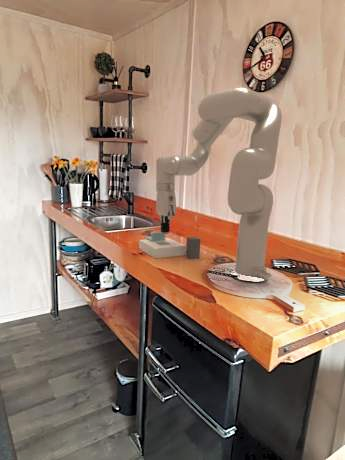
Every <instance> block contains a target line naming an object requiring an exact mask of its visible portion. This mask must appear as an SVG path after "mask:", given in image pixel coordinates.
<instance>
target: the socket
mask: <svg viewBox="0 0 345 460" xmlns="http://www.w3.org/2000/svg"><path fill="white" fill-rule="evenodd" d="M165 239H166V240H160V241H150V240H148V239H146V238H145V239H139V241H138V243H139V248H138V249H139V250H140V251H142V252H143V253H146V254H147V255H149V257H150V256H151V257H152V258H153V259H163V258H171V257H181V256H186V245H185V244H183V243H180V242H178V241H176V240H173V239H171V238H169V237H165Z"/></svg>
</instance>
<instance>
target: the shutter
mask: <svg viewBox="0 0 345 460" xmlns="http://www.w3.org/2000/svg"><path fill="white" fill-rule="evenodd" d="M150 235H151V236H149V235H148V236H144V239H145V240H146V239H148V240H150V241H160V240H166V239H165V238H166V237H165V235H166V233H163V232H161V231H156V232H151V234H150Z"/></svg>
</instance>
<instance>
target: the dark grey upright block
mask: <svg viewBox="0 0 345 460" xmlns="http://www.w3.org/2000/svg"><path fill="white" fill-rule="evenodd" d="M185 246H186V253H185V258H188V259H189V260H196V259H200V257H201V256H200V253H201V238H199V237H196V236H193V237H191V236H190V237H186V245H185Z"/></svg>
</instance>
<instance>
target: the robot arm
mask: <svg viewBox="0 0 345 460" xmlns="http://www.w3.org/2000/svg"><path fill="white" fill-rule="evenodd" d="M197 114H198V116H199V118H200V121H199V122H198V123H197V125H196V126H195V127H194V128H193V130H192V136H193V139H195V141H196V142H197V144H196V147H195V148H194V149H193V150H192V152H191V153H190V155H189V156H187V155H170V156H159V157H157V158H156V168H155V169H156V172H155V173H156V174H155V176H156V178H155V179H156V183H155V185H156V186H155V189H156V190H155V191H156V200H155V212H156V214H157V216H158V217H159V218H160V219H159V222H160V232H163V233H165V234H167V233H170V223H171V220H173V217H175V216H176V215H177V198H176V192H175V189H176V187H175V186H176V182H175V181H176V176H187V177H188V176H193V175H195V174H197V173H198V171H200V170H201V168H202V167H203V166H204V165H205V164H206V162H207V161H208V159H209V158H210V157H209V156H210V154H211V151H212V146H213V144H214V143H215V142H216V140H217V139H218V138H219V137H220V135H221V134H223V132H224V131H225V129H226V128H227V127H228V126H229V125H230V124H231V123H232V121H233V120H234V118H235V119H236V118H237V119H242V120H246V121H250V122H253V123H254V124H255V125H254V127H253V129H252V132H251V135H250V142H249V147H245V148H242V149H241V150H239V151H238V152H237V153H236V154H235V156H234V157H233V160H232V163H231V167H230V175H229V184H228V190H227V203H228V207H229V209H230V210H231V211H232V213H234V214H236V215H239V216H240V219H239V224H238V233H237V245H236V258H235V268H234V269H235V271H236V272H237V273H239V274H241V275H245V276H251V277H257V278H262V279H264V280H266V281H268V280H269V278H271V277H272V273H271V272H268V271H267V268H268V267H267V266H265V263H266V262H265V261H266V253H267V252H266V251H267V243H268V232H269V224H270V220H271V219H270V217H271V213H272V210H273V206H274V194H273V191H272V190H271V189H270V188H269V187H268V186H267V185H265V184H261V183H260V180H261V181H262V180H266V179H268V178H270V177H271V176H272V175H273V173H274V172H275V166H276V160H277V154H278V153H277V152H278V146H279V140H280V139H279V138H280V134H281V133H280V132H281V127H282V119H283V118H282V110H281V108H280V106H279V105H278V103H277V102H276V101H274V100H273V99H272V98H270V97H269V96H266V95H265V94H262V93H261V92H258V91H254V90H252V89H250V88H247V87H236V88H235V87H234V88H231V89H227V90H221V91H218V92H213V93H209V94H207V95H206V96H204V97H203V98H202V100H200V103H199V104H198V109H197Z"/></svg>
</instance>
